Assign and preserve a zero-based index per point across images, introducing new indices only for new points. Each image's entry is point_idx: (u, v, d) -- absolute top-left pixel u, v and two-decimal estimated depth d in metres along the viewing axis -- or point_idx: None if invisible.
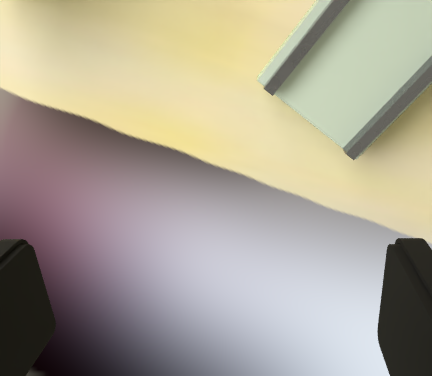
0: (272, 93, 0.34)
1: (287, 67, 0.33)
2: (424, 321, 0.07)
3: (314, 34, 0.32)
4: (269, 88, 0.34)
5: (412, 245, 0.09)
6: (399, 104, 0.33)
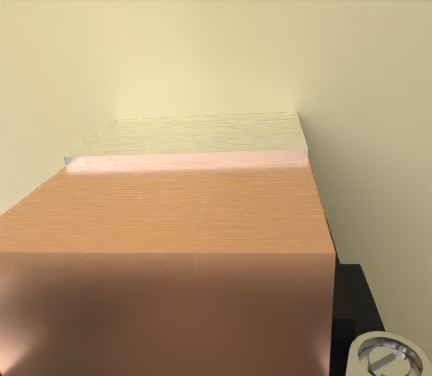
0: None
1: None
2: None
3: None
4: None
5: None
6: None
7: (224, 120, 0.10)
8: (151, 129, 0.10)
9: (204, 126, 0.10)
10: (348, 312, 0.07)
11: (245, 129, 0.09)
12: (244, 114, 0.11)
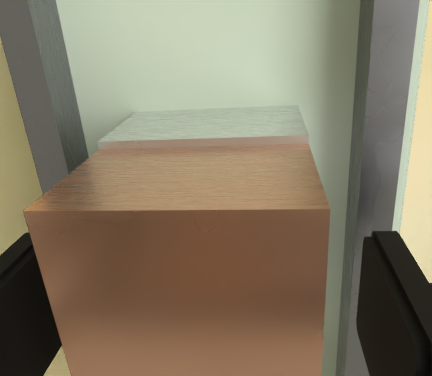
0: None
1: (398, 5, 0.09)
2: (391, 307, 0.07)
3: (382, 141, 0.10)
4: None
5: (385, 237, 0.09)
6: (50, 155, 0.12)
7: (234, 112, 0.11)
8: (170, 119, 0.11)
9: (217, 117, 0.11)
10: None
11: (253, 119, 0.11)
12: (251, 107, 0.12)
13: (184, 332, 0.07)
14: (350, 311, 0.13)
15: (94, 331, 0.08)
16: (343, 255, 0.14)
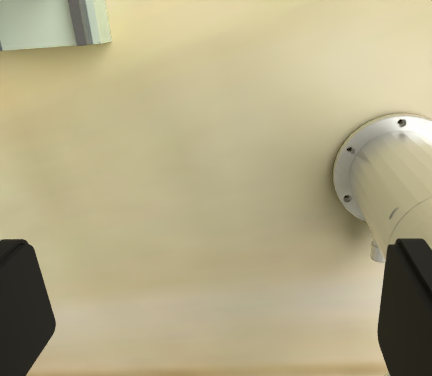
0: None
1: None
2: (424, 321, 0.07)
3: None
4: None
5: (412, 245, 0.09)
6: None
7: None
8: None
9: None
10: None
11: None
12: None
13: None
14: None
15: None
16: None
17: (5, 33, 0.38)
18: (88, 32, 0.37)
